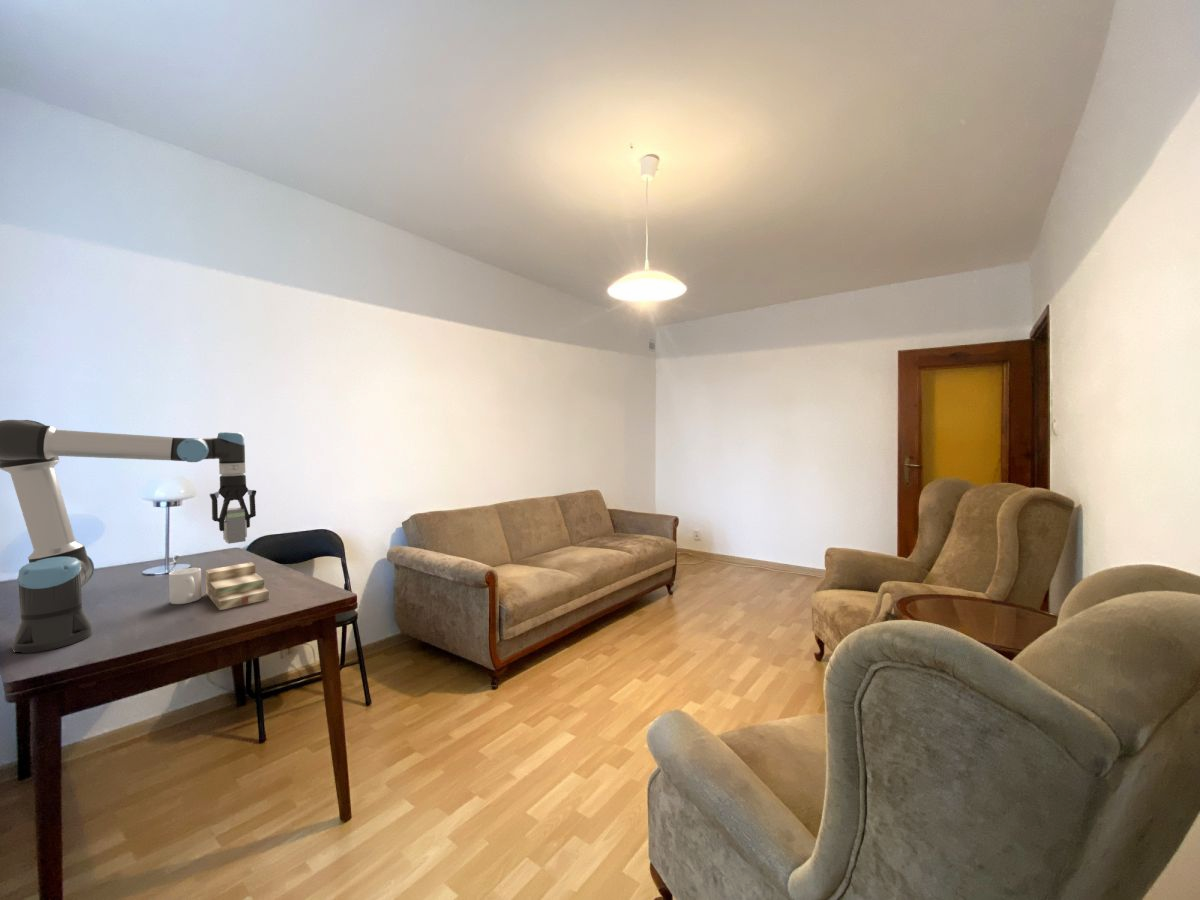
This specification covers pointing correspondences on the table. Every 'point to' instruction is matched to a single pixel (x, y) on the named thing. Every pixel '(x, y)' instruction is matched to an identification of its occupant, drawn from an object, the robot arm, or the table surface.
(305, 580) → the table surface
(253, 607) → the table surface
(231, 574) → the stepped stand
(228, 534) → the column
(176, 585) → the mug
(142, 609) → the table surface
